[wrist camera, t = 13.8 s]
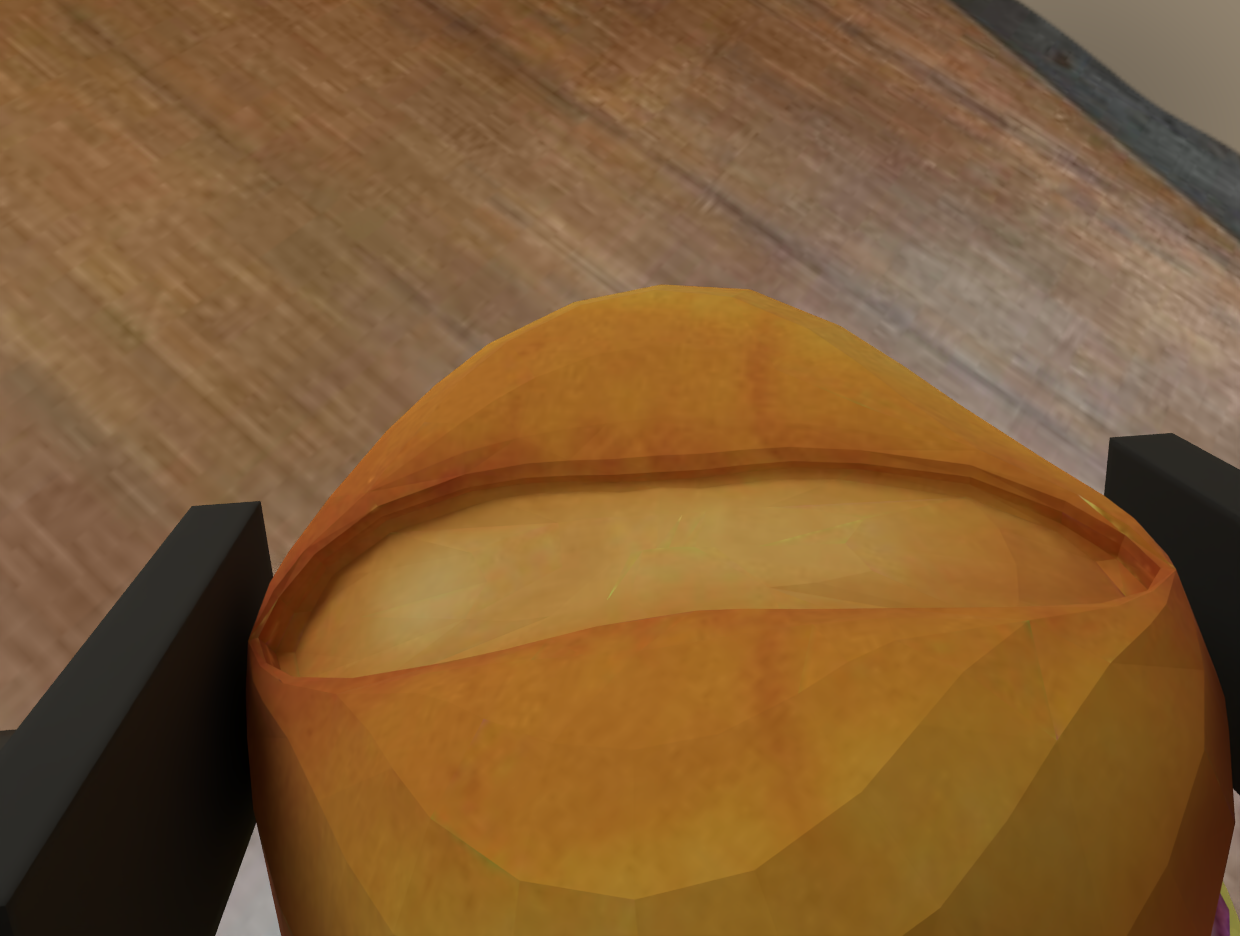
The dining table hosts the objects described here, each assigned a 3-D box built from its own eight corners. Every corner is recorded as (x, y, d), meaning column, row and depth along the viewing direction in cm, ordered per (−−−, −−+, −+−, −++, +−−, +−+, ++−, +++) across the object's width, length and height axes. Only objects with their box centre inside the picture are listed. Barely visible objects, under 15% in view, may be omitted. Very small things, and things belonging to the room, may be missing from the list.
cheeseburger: (638, 1673, 12) (332, 2353, 4) (288, 835, 18) (-105, 449, 10) (1315, 1095, 14) (1964, 802, 6) (803, 527, 20) (809, 21, 12)
